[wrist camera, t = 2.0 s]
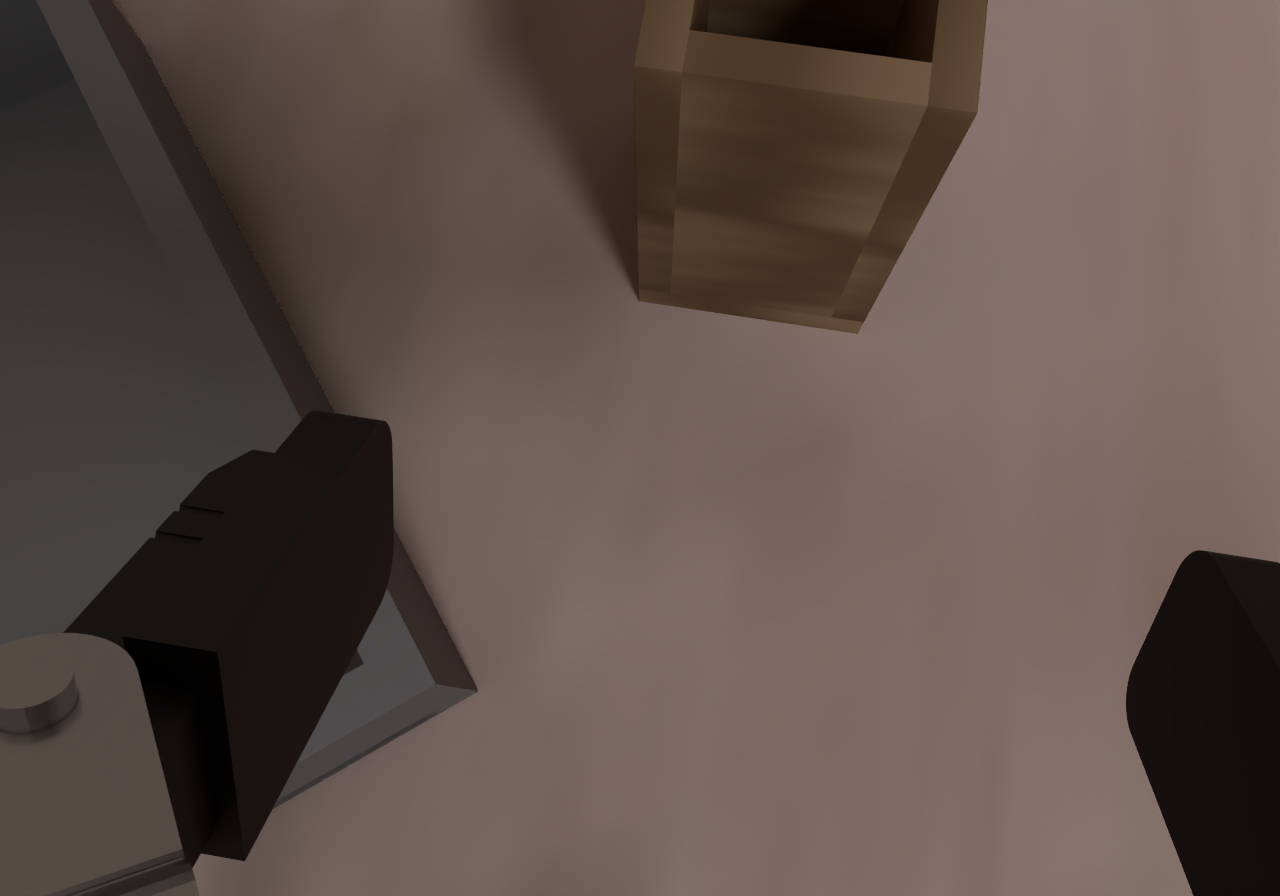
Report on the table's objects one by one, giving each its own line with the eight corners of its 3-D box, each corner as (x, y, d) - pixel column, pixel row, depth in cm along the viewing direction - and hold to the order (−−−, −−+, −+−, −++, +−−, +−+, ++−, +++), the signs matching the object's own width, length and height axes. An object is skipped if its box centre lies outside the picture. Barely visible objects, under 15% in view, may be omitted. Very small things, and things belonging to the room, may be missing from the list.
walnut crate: (880, 138, 28) (1004, -170, 18) (857, 333, 27) (977, 112, 17) (672, 109, 28) (685, -210, 18) (639, 301, 27) (633, 65, 17)
